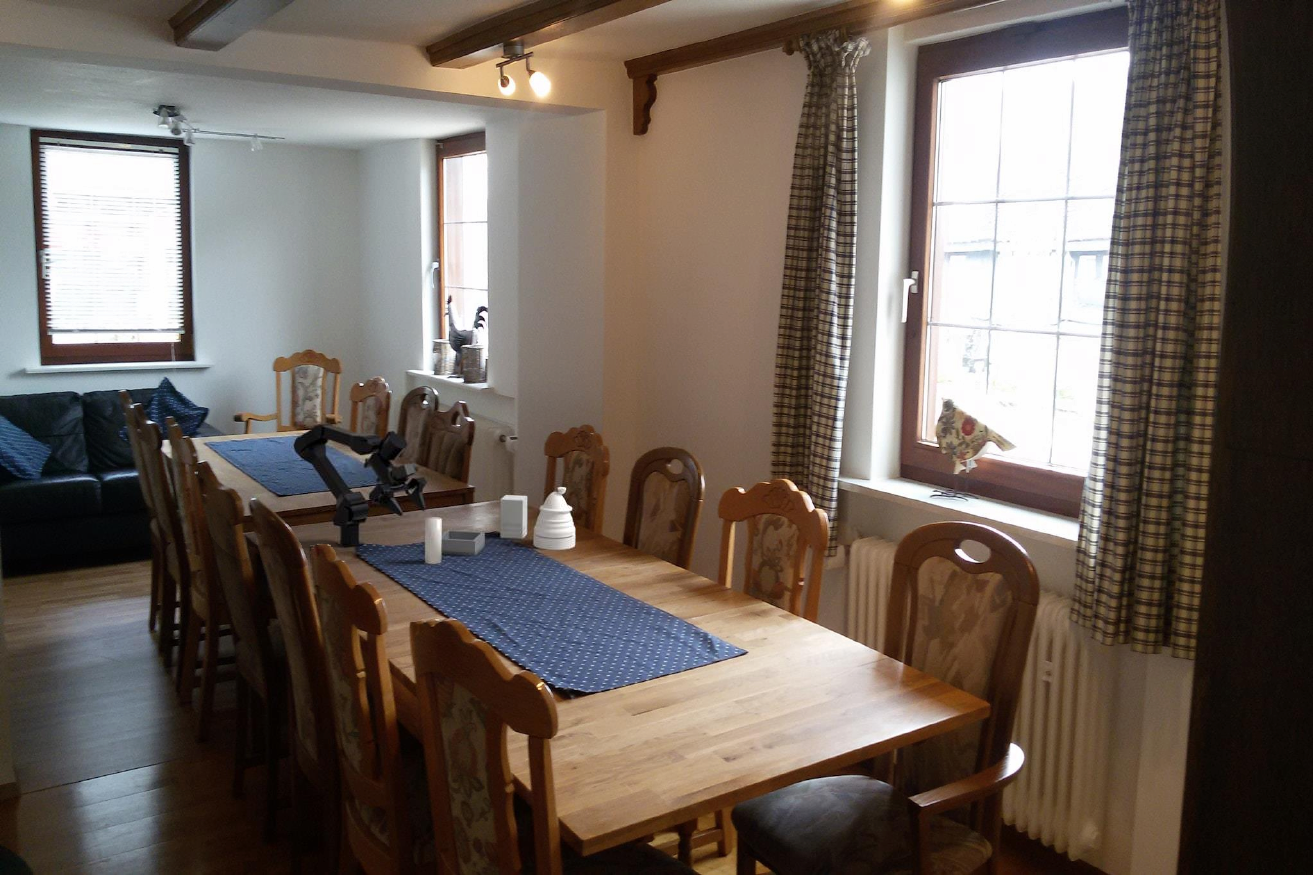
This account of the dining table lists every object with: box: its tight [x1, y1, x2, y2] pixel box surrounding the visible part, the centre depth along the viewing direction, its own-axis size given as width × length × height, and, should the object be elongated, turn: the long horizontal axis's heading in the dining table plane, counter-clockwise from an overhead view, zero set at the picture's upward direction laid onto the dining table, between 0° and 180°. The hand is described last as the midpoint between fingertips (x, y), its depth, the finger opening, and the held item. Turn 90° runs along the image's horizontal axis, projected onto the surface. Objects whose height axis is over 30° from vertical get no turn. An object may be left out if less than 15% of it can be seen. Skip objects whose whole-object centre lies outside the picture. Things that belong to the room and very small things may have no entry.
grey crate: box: [441, 529, 486, 557], centre depth 314 cm, size 12×12×4 cm
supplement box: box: [499, 494, 528, 540], centre depth 334 cm, size 7×7×13 cm
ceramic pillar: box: [424, 516, 443, 565], centre depth 300 cm, size 5×5×12 cm
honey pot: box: [532, 486, 576, 551], centre depth 325 cm, size 13×13×18 cm
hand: (413, 512), depth 302 cm, fingers open, 9 cm apart
